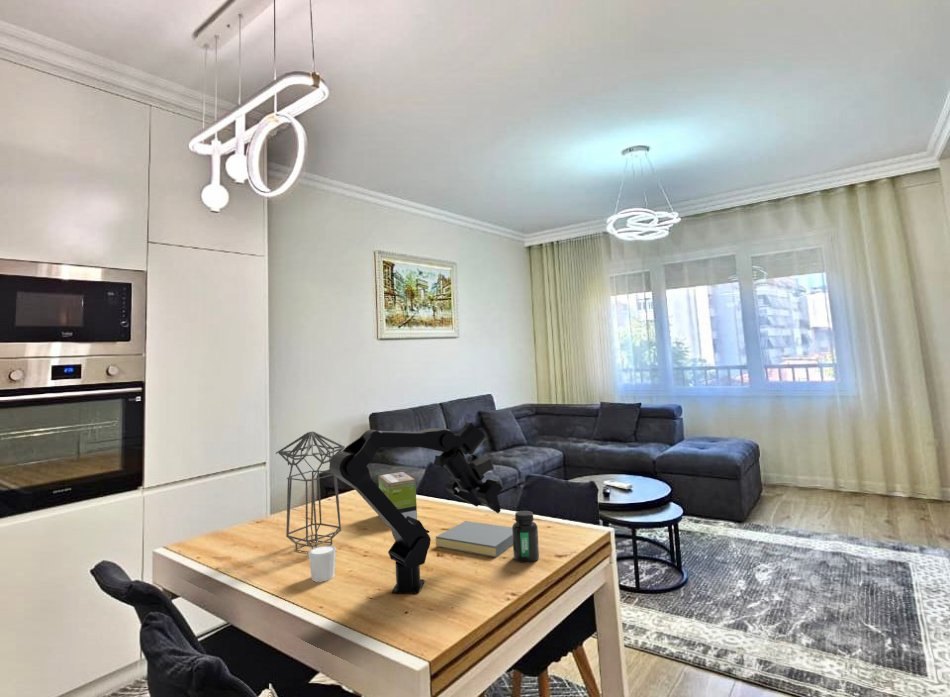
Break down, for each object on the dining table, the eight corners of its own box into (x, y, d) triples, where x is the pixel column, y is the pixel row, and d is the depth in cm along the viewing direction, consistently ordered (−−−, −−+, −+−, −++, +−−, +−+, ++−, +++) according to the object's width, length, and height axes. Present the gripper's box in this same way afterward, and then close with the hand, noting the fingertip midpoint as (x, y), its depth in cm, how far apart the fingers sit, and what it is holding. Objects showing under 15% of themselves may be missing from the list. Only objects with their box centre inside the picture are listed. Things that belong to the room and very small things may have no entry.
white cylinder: (326, 569, 130) (326, 543, 131) (342, 575, 126) (341, 548, 126) (303, 579, 125) (302, 551, 125) (319, 585, 121) (318, 556, 121)
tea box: (379, 515, 179) (377, 474, 180) (405, 510, 184) (403, 471, 184) (390, 526, 166) (388, 482, 166) (418, 521, 170) (416, 478, 171)
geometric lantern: (316, 536, 159) (313, 428, 160) (352, 543, 151) (348, 428, 152) (275, 553, 145) (271, 434, 147) (311, 561, 137) (307, 436, 139)
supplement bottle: (529, 565, 127) (527, 518, 128) (508, 559, 131) (506, 514, 132) (544, 556, 132) (541, 511, 133) (523, 551, 137) (521, 508, 137)
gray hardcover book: (495, 557, 133) (494, 546, 133) (435, 547, 143) (435, 536, 144) (521, 538, 147) (521, 528, 147) (465, 530, 157) (465, 520, 157)
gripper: (500, 449, 125) (528, 492, 130) (457, 442, 140) (484, 481, 145) (473, 481, 119) (504, 524, 124) (432, 470, 134) (461, 510, 139)
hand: (488, 508), depth 133 cm, fingers open, 9 cm apart
